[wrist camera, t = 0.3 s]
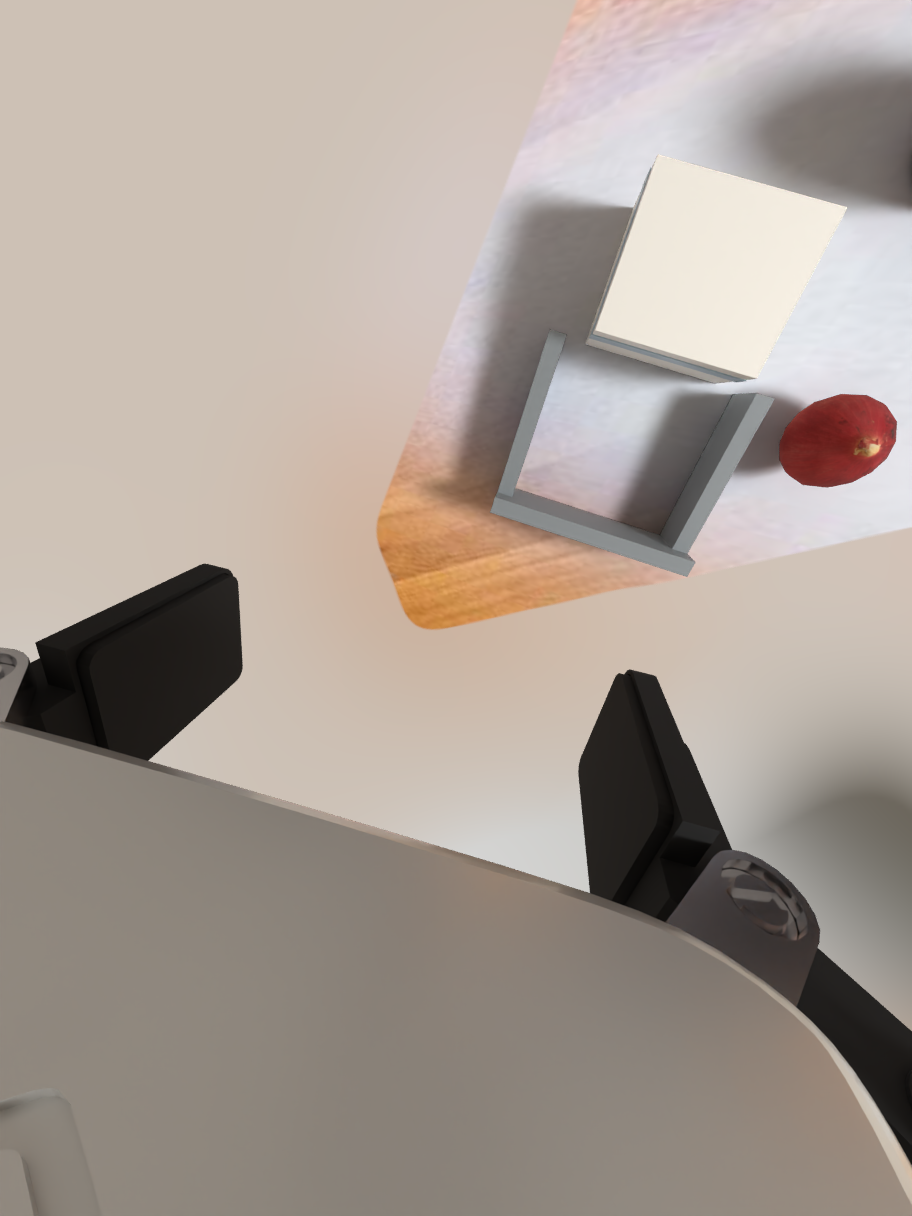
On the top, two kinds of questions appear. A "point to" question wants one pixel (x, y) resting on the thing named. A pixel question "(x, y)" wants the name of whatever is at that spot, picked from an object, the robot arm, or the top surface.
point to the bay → (611, 534)
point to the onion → (837, 440)
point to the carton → (710, 271)
